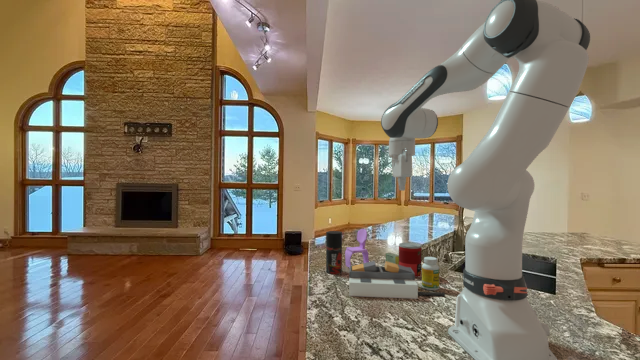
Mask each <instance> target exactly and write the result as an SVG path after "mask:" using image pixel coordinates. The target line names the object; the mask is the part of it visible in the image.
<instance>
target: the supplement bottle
mask: <svg viewBox="0 0 640 360" xmlns="http://www.w3.org/2000/svg"><path fill="white" fill-rule="evenodd" d="M423 262H424V263H423V264H421V287H422V288H423V289H424V290H427V291H437V290H438V291H439V290H440V266H439V265H438V258H437V257H434V256H425V257H423Z"/></svg>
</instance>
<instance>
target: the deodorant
mask: <svg viewBox="0 0 640 360" xmlns="http://www.w3.org/2000/svg"><path fill="white" fill-rule="evenodd" d="M325 234H326V235H325V237H326V238H325V248H326V250H325V253H326V254H325V256H326V257H325V263H326V264H325V273H326V274H329V275H340V274H342V273H343V232H342V231H340V230H330V231H326V233H325Z"/></svg>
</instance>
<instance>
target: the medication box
mask: <svg viewBox="0 0 640 360" xmlns="http://www.w3.org/2000/svg"><path fill="white" fill-rule="evenodd" d="M386 261H387V262H391V263H394V264H398V265H399V254H395V253H392V252H386V253H385V262H386Z"/></svg>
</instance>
